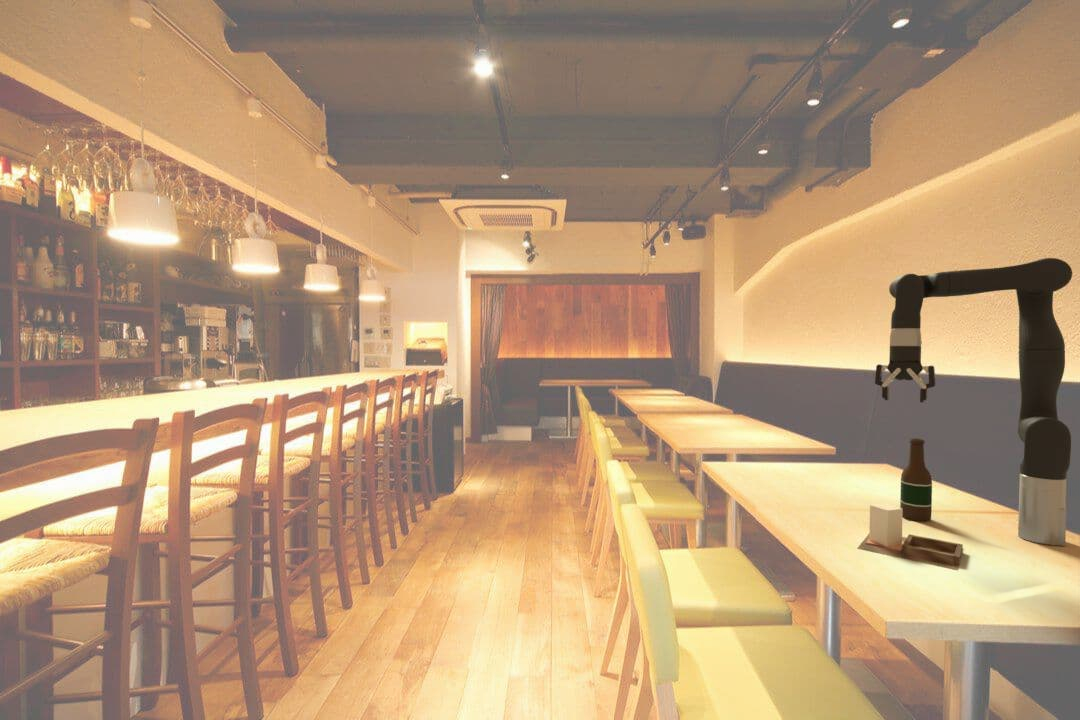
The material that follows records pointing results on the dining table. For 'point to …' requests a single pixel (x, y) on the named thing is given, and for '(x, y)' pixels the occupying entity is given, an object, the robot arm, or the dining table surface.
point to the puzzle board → (920, 550)
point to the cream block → (886, 524)
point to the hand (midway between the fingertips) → (904, 401)
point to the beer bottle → (916, 485)
